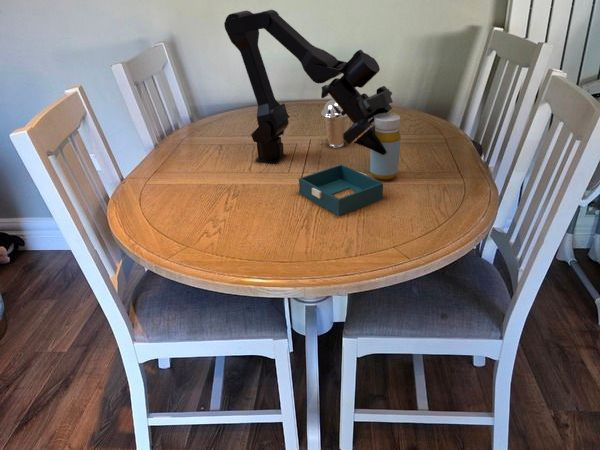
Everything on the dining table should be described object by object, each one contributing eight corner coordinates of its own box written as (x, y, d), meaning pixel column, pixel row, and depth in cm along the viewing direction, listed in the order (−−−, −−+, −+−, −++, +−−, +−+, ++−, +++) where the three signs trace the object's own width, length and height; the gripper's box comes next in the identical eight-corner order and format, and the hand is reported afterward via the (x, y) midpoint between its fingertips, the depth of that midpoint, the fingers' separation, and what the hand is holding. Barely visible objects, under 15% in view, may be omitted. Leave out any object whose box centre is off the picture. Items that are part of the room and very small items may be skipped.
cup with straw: (342, 138, 150) (341, 72, 140) (356, 147, 143) (357, 78, 133) (317, 143, 147) (315, 76, 137) (330, 152, 140) (329, 82, 130)
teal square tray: (297, 194, 118) (296, 179, 116) (343, 177, 124) (343, 163, 123) (336, 217, 107) (336, 201, 105) (384, 198, 113) (385, 182, 111)
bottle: (402, 178, 121) (406, 119, 113) (375, 181, 119) (378, 122, 112) (390, 167, 127) (394, 111, 119) (365, 170, 125) (368, 114, 118)
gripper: (356, 87, 106) (401, 142, 107) (386, 69, 120) (426, 118, 120) (324, 118, 113) (367, 169, 114) (356, 97, 127) (394, 143, 128)
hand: (390, 148), depth 119 cm, fingers closed on bottle, 7 cm apart
